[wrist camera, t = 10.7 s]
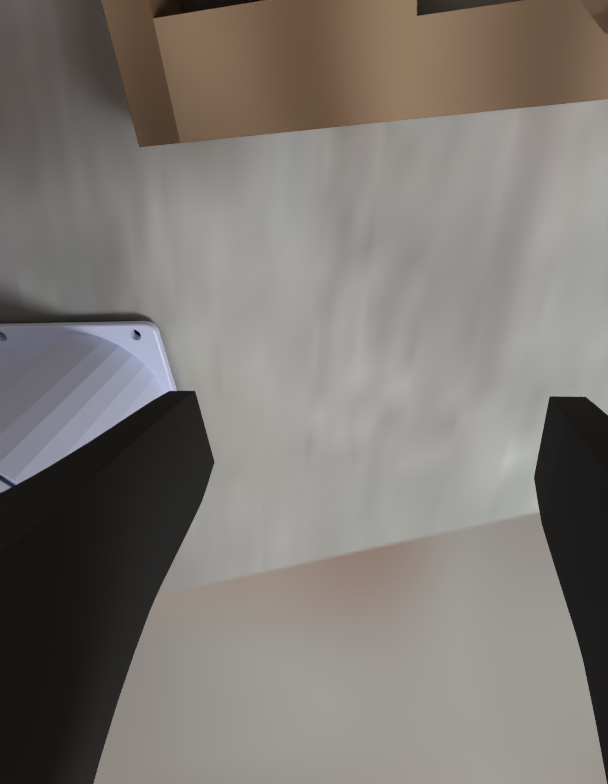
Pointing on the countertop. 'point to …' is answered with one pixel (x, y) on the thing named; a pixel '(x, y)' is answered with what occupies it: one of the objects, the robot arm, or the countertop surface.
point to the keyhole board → (347, 63)
